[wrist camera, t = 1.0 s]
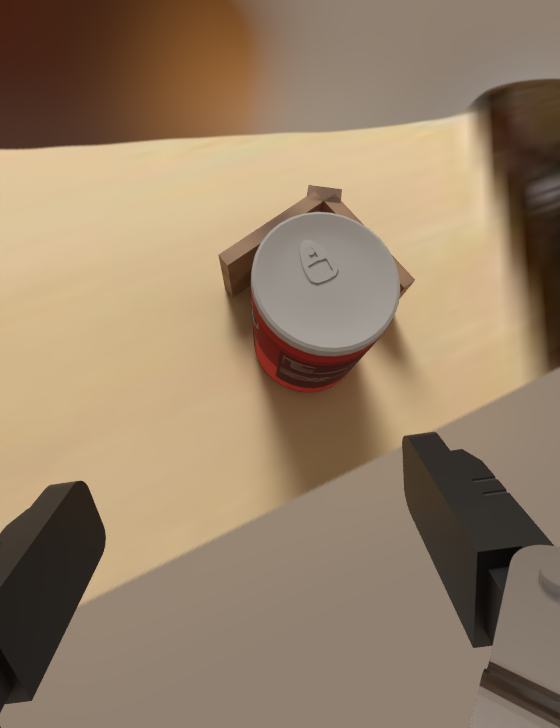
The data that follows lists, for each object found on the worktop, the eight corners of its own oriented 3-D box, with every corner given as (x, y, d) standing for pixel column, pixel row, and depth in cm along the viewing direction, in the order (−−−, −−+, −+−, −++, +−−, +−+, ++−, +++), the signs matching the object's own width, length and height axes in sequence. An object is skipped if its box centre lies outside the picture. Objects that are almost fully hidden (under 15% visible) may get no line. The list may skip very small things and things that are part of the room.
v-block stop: (223, 295, 31) (216, 264, 27) (236, 217, 33) (232, 175, 28) (391, 316, 32) (414, 289, 27) (394, 238, 33) (417, 199, 29)
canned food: (304, 279, 32) (325, 184, 22) (374, 349, 31) (434, 286, 20) (232, 339, 31) (216, 269, 20) (303, 415, 29) (328, 384, 19)
